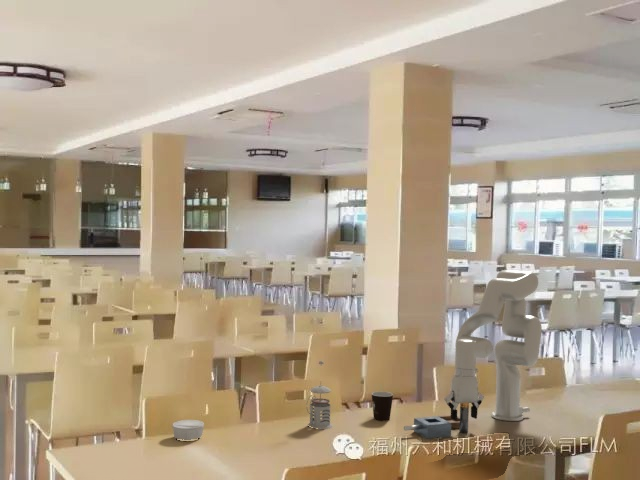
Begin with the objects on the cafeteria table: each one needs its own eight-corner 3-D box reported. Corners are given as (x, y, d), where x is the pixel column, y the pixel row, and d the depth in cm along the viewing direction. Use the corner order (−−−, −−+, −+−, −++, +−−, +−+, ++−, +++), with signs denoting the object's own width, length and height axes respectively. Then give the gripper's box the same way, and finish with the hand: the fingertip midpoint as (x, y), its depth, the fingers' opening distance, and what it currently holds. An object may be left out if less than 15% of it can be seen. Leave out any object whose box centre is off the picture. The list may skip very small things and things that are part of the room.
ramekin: (177, 444, 245) (177, 429, 245) (168, 436, 255) (168, 421, 255) (208, 440, 250) (208, 425, 250) (198, 432, 260) (198, 418, 260)
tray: (454, 420, 284) (454, 414, 284) (467, 427, 274) (467, 421, 274) (427, 422, 279) (427, 417, 279) (440, 429, 270) (440, 423, 270)
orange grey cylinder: (465, 430, 270) (465, 398, 270) (469, 432, 267) (470, 400, 267) (457, 431, 269) (458, 399, 269) (462, 433, 266) (463, 401, 266)
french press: (338, 426, 272) (339, 361, 272) (317, 431, 264) (318, 364, 264) (319, 421, 279) (320, 357, 279) (298, 426, 271) (299, 361, 270)
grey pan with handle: (437, 429, 271) (437, 416, 270) (450, 436, 261) (451, 423, 261) (398, 432, 265) (398, 419, 265) (411, 440, 255) (411, 426, 255)
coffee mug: (391, 422, 279) (391, 397, 279) (369, 420, 281) (370, 395, 281) (394, 415, 290) (394, 390, 290) (373, 413, 292) (373, 389, 292)
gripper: (479, 369, 274) (478, 414, 274) (439, 371, 268) (438, 417, 268) (490, 373, 267) (489, 419, 267) (450, 375, 261) (449, 422, 261)
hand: (464, 418), depth 268 cm, fingers open, 8 cm apart
